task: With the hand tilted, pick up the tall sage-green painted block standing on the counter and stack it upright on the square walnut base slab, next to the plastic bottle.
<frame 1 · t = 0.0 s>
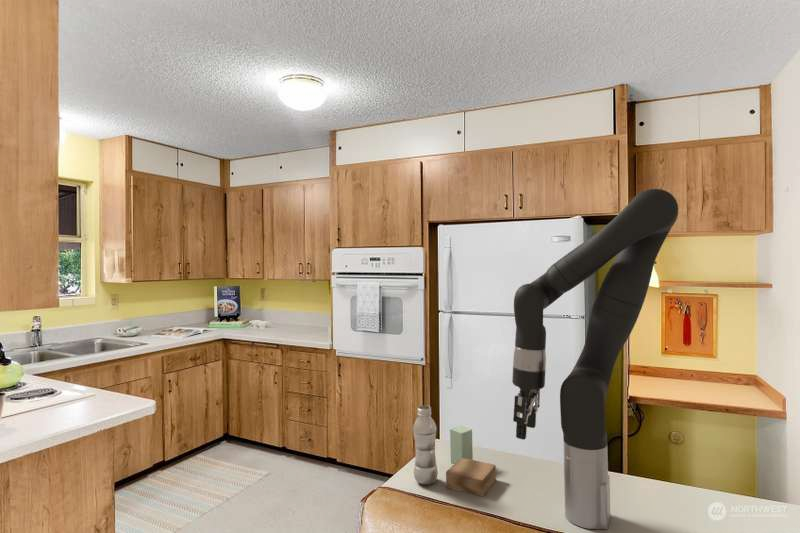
hand: (526, 432, 109), 17 cm above the countertop, tool pointing down, fingers open, 8 cm apart
base: (471, 483, 119), on the countertop
plastic bottle: (425, 482, 121), on the countertop
block: (461, 463, 132), on the countertop
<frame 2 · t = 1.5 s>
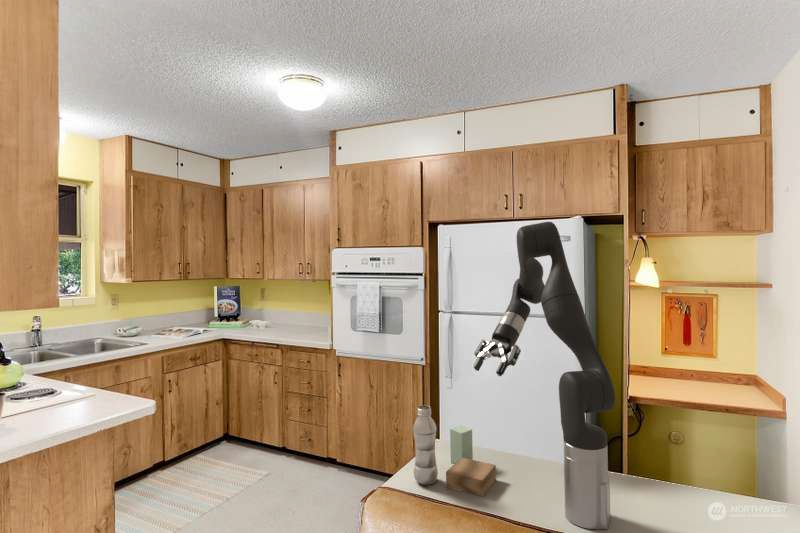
hand: (486, 371, 137), 25 cm above the countertop, tool tilted 45°, fingers open, 8 cm apart
nothing on the countertop moved.
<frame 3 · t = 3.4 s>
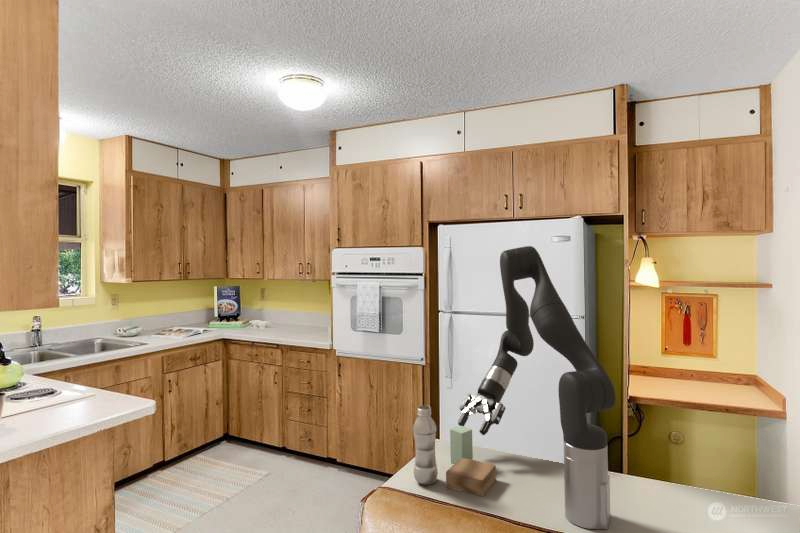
hand: (470, 429, 134), 9 cm above the countertop, tool tilted 45°, fingers open, 8 cm apart
nothing on the countertop moved.
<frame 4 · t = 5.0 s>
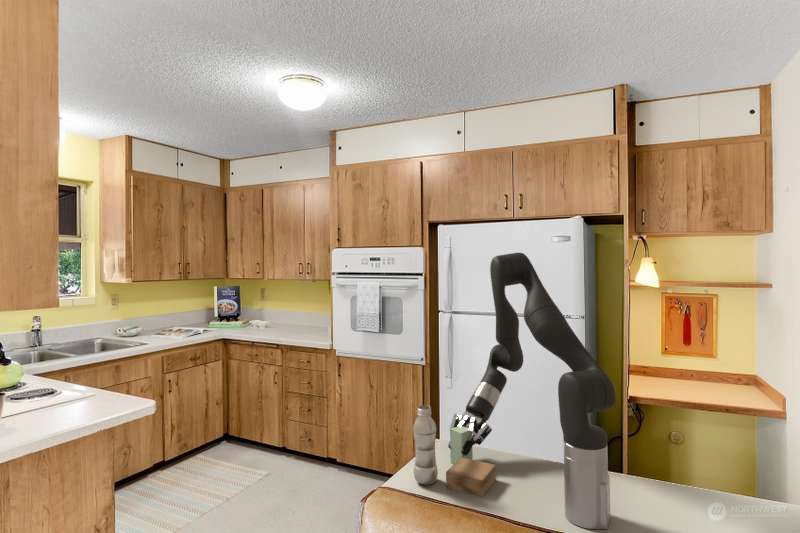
hand: (457, 451, 130), 4 cm above the countertop, tool tilted 45°, fingers closed on block, 4 cm apart
block: (461, 463, 132), on the countertop, touching gripper
everything else where it was.
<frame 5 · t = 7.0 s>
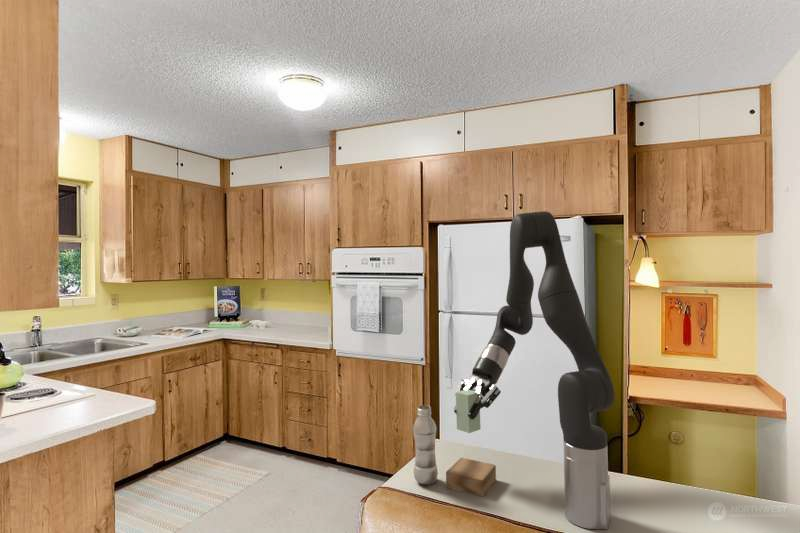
hand: (463, 415, 121), 18 cm above the countertop, tool tilted 45°, fingers closed on block, 4 cm apart
block: (468, 429, 122), point 13 cm above the countertop, touching gripper
everything else where it was.
when the fingers open (9 cm above the countertop, at t = 9.4 s): block stays where it is, resting on base.
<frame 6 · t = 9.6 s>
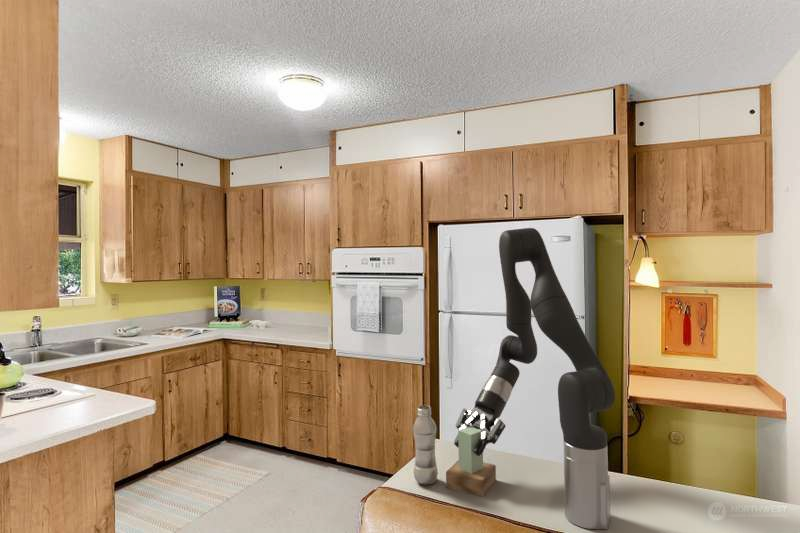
hand: (466, 449, 118), 9 cm above the countertop, tool tilted 45°, fingers open, 6 cm apart
block: (471, 468, 120), point 4 cm above the countertop, touching base
everything else where it was.
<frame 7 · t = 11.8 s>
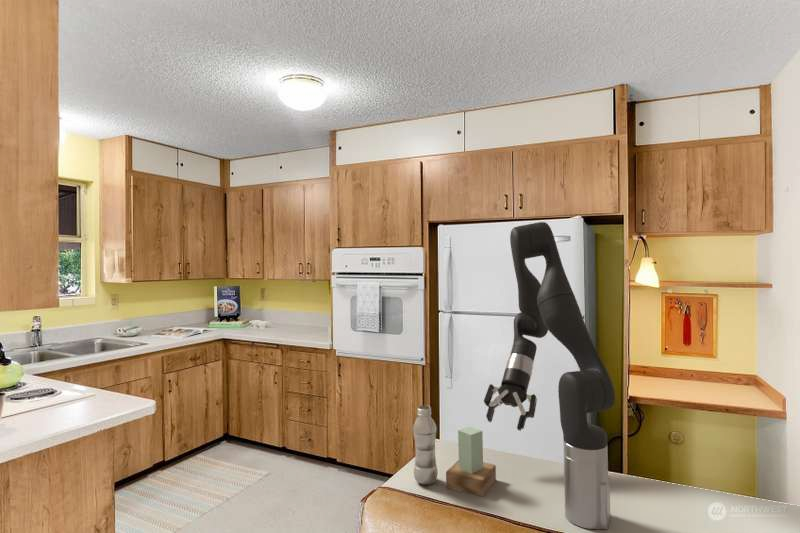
hand: (503, 425, 126), 13 cm above the countertop, tool tilted 35°, fingers open, 8 cm apart
nothing on the countertop moved.
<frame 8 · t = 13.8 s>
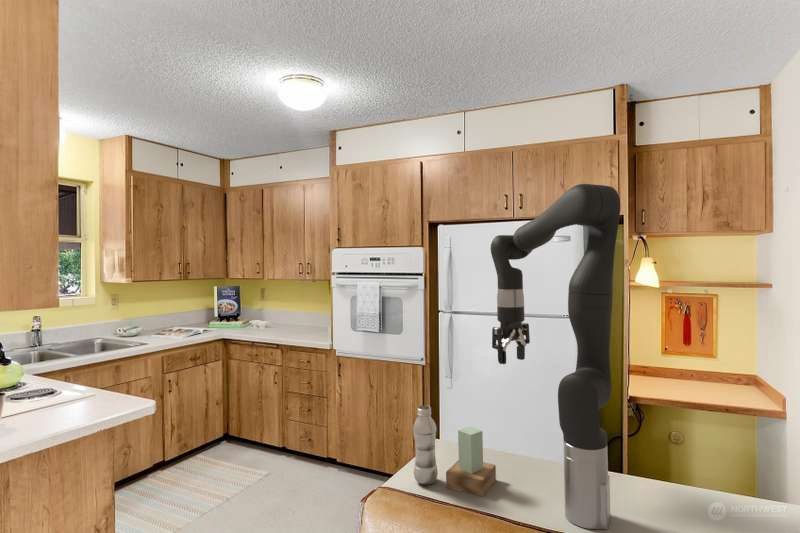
hand: (511, 361, 129), 30 cm above the countertop, tool pointing down, fingers open, 8 cm apart
nothing on the countertop moved.
at the end: block inside the target area on the base (0.1 cm from its centre), point 4.0 cm above the base's base; block tilted 0°; the gripper is holding nothing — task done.
